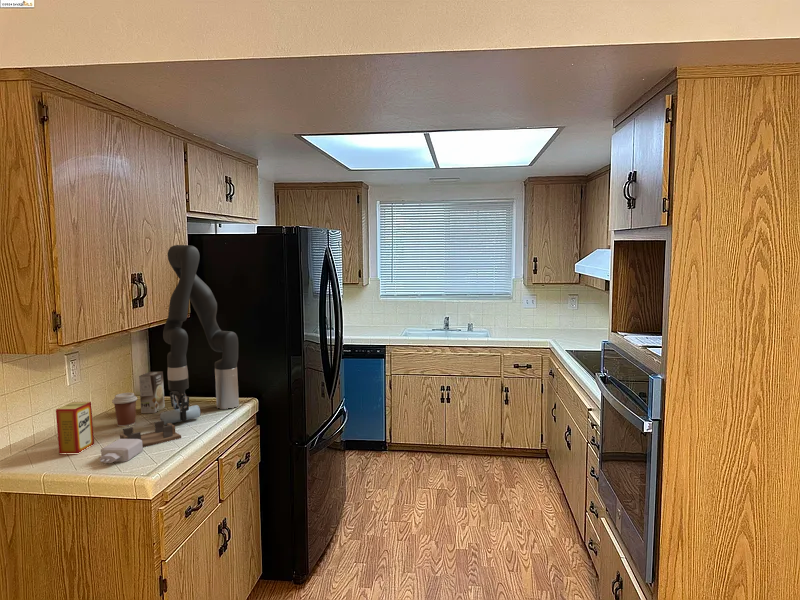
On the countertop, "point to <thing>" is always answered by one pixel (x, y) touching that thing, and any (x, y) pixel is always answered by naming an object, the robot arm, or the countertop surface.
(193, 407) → the cylinder
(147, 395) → the coffee box
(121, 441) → the charger
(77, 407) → the baking soda box
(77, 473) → the countertop surface
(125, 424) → the coffee cup
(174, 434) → the walnut holder
